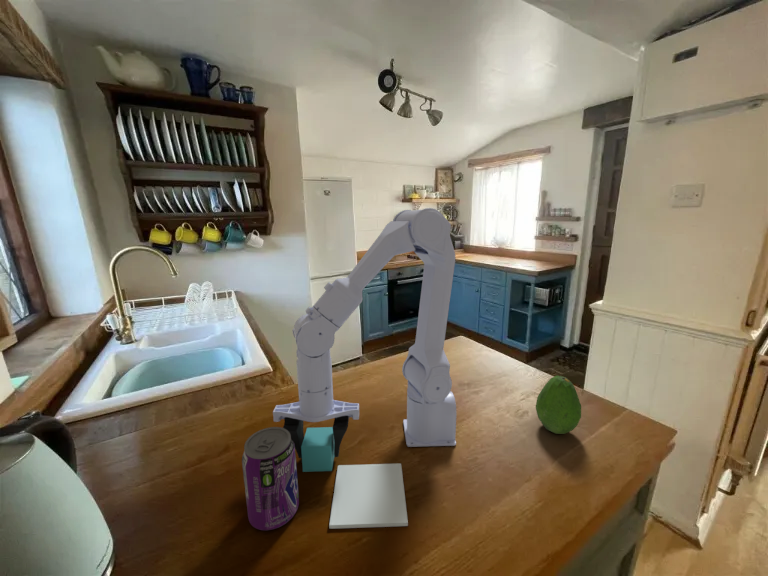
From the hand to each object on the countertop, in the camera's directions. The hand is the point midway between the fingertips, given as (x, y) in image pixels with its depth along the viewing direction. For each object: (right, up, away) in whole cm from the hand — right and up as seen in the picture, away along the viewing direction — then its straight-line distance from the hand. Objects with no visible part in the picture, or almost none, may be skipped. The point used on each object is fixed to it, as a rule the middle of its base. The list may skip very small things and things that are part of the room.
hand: (319, 453), depth 56 cm
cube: (0, -2, 0) cm, 2 cm away
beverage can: (-5, -4, -10) cm, 11 cm away
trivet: (+9, -3, -7) cm, 12 cm away
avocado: (+47, 0, +8) cm, 47 cm away
